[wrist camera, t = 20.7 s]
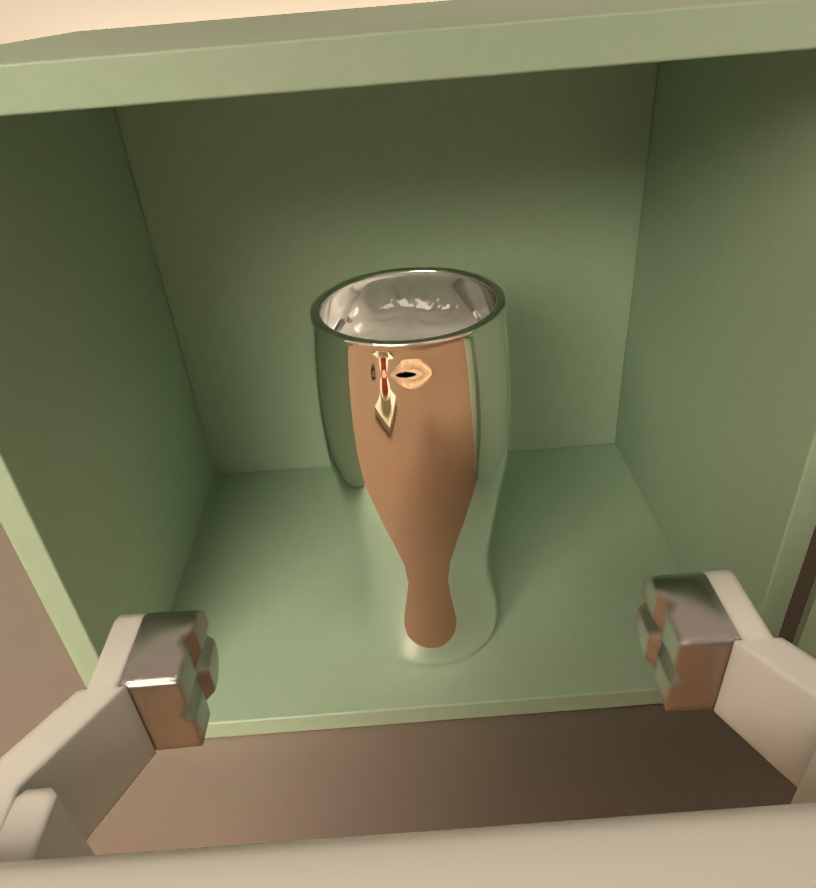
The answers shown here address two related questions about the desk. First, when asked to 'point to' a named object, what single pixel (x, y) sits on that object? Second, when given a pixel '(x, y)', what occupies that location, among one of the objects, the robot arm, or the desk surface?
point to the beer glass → (418, 447)
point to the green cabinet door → (807, 626)
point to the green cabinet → (399, 246)
